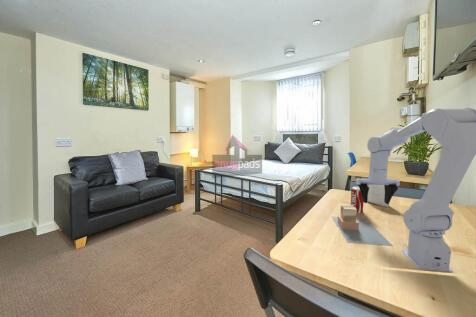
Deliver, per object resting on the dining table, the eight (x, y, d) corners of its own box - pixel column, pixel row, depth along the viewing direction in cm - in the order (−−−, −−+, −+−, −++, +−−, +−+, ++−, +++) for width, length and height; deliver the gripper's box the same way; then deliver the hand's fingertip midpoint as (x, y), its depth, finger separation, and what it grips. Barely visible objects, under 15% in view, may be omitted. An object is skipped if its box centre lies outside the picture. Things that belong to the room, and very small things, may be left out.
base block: (358, 230, 80) (359, 222, 80) (341, 229, 81) (342, 221, 81) (353, 223, 86) (353, 216, 85) (337, 222, 87) (337, 215, 87)
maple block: (356, 221, 81) (356, 209, 80) (343, 221, 81) (344, 208, 81) (352, 217, 85) (352, 205, 84) (340, 216, 86) (340, 204, 85)
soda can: (364, 214, 95) (366, 189, 94) (352, 214, 96) (353, 189, 95) (360, 210, 100) (361, 186, 99) (348, 210, 102) (350, 186, 100)
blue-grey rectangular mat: (392, 247, 69) (393, 245, 69) (347, 243, 72) (347, 242, 72) (365, 219, 90) (365, 218, 90) (331, 217, 93) (331, 216, 93)
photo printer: (390, 206, 106) (392, 182, 104) (386, 207, 104) (388, 183, 102) (370, 200, 115) (371, 178, 113) (365, 201, 113) (366, 179, 111)
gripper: (393, 167, 82) (391, 200, 84) (353, 166, 85) (352, 198, 87) (404, 170, 75) (401, 206, 77) (360, 169, 78) (358, 204, 80)
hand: (375, 202), depth 81 cm, fingers open, 7 cm apart
